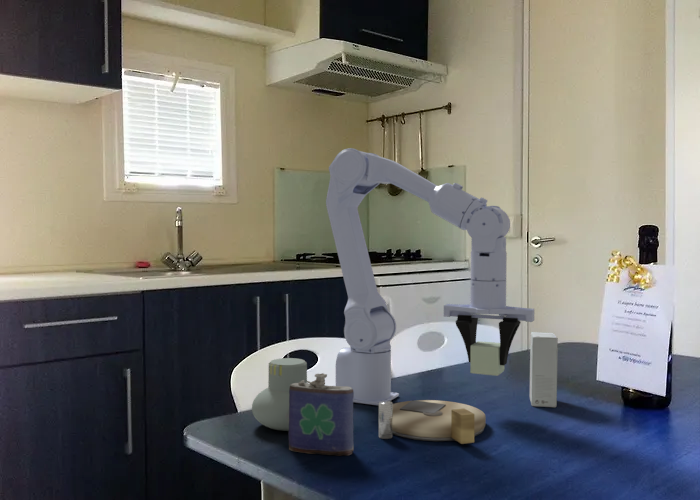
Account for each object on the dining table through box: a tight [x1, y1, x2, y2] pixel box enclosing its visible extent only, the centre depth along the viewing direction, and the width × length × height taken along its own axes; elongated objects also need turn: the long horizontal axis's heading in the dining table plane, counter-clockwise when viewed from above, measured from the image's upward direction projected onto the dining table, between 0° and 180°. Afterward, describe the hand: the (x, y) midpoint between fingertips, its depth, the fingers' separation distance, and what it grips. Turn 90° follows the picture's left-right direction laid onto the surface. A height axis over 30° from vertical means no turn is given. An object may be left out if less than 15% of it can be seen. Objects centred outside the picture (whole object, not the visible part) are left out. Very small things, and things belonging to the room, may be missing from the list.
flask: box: [287, 372, 354, 456], centre depth 91 cm, size 9×3×11 cm, turn 74°
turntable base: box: [378, 401, 485, 442], centre depth 102 cm, size 16×17×5 cm
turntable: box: [392, 399, 486, 445], centre depth 102 cm, size 16×16×4 cm
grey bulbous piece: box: [251, 357, 308, 432], centre depth 102 cm, size 11×8×10 cm
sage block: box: [469, 340, 506, 377], centre depth 109 cm, size 4×4×4 cm
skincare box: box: [529, 331, 559, 408], centre depth 116 cm, size 6×4×12 cm
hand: (487, 362), depth 109 cm, fingers closed on sage block, 4 cm apart
